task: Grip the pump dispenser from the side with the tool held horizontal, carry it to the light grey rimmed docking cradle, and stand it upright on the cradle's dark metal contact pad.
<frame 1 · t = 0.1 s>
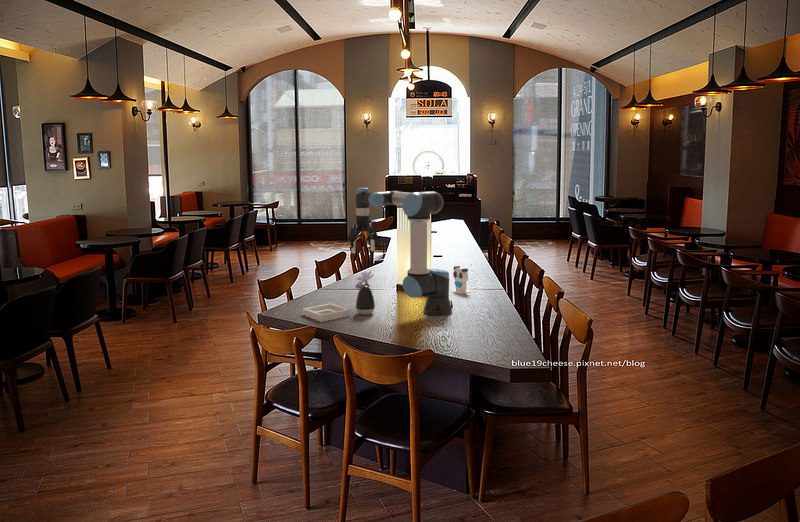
hand: (363, 252, 362), 28 cm above the table, fingers open, 13 cm apart
water lily: (364, 285, 405), on the table
panda figurine: (460, 291, 387), on the table
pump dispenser: (365, 314, 334), on the table
docking cradle: (326, 315, 331), on the table
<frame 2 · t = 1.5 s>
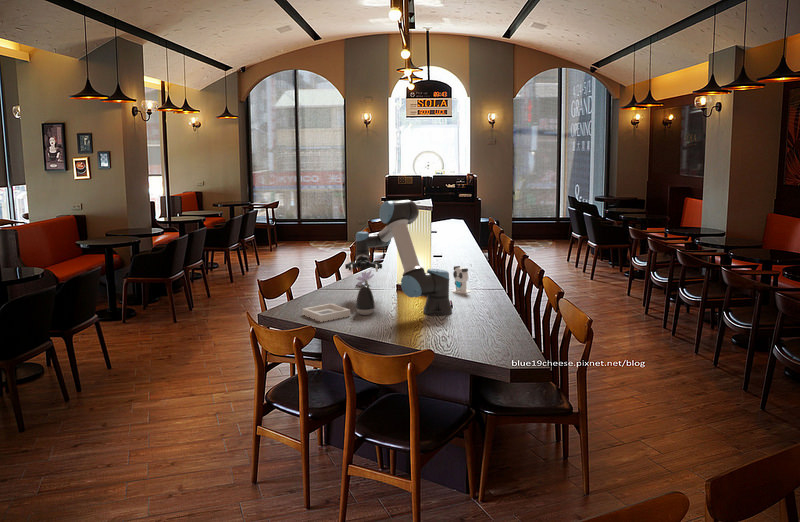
hand: (364, 269, 340), 22 cm above the table, fingers open, 13 cm apart
nothing on the table moved.
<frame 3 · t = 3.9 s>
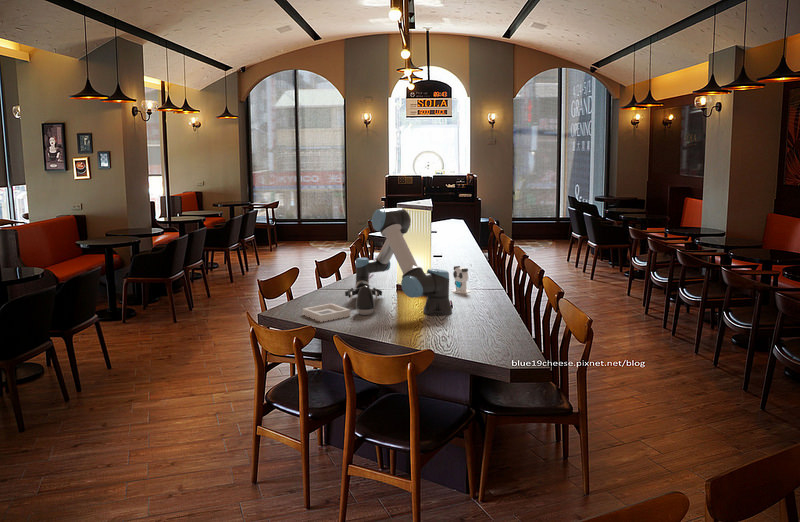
hand: (364, 296, 339), 8 cm above the table, fingers open, 13 cm apart
nothing on the table moved.
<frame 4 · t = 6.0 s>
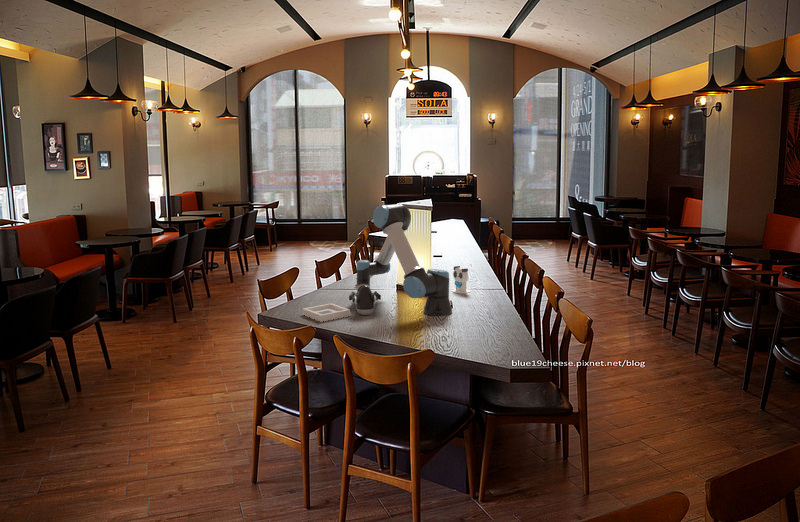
hand: (365, 301, 329), 8 cm above the table, fingers closed on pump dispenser, 10 cm apart
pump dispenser: (365, 314, 334), on the table, touching gripper
everything else where it was.
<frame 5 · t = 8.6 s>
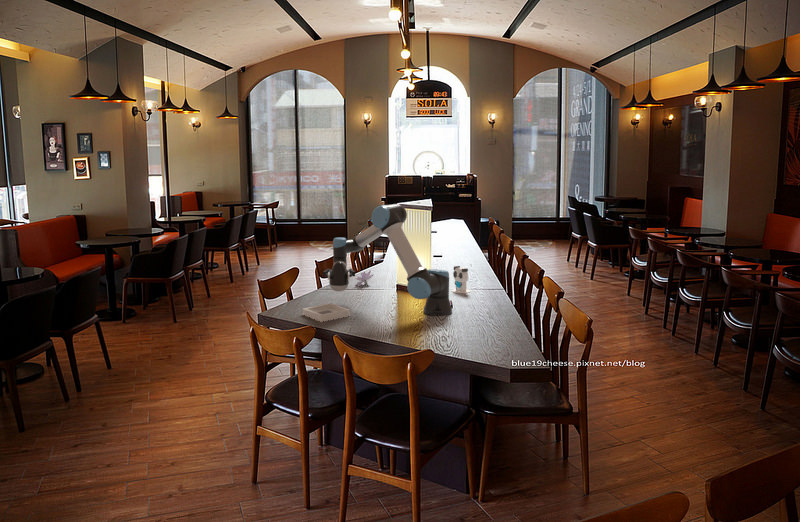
hand: (338, 277, 326), 21 cm above the table, fingers closed on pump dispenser, 10 cm apart
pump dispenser: (339, 290, 332), point 13 cm above the table, touching gripper
everything else where it was.
when the fingers open (10 cm above the table, at t = 11.4 s): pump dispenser stays where it is, resting on docking cradle.
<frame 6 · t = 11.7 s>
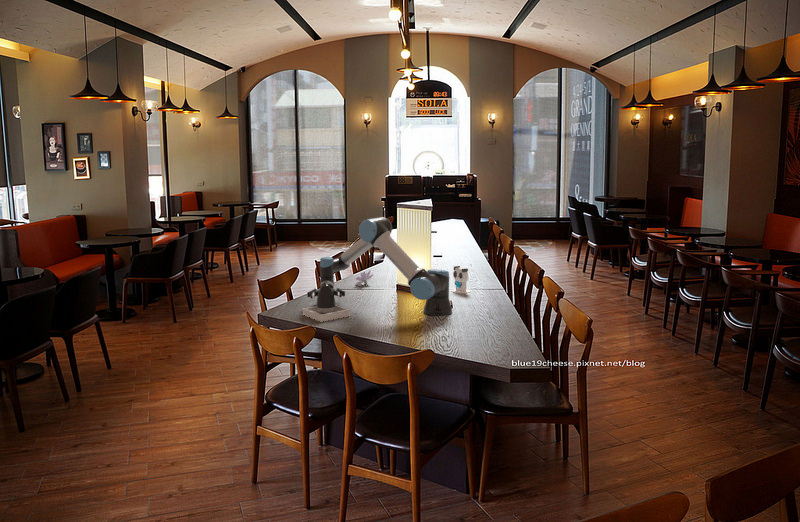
hand: (325, 297, 325), 10 cm above the table, fingers open, 12 cm apart
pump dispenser: (326, 312, 331), point 1 cm above the table, touching docking cradle
everything else where it was.
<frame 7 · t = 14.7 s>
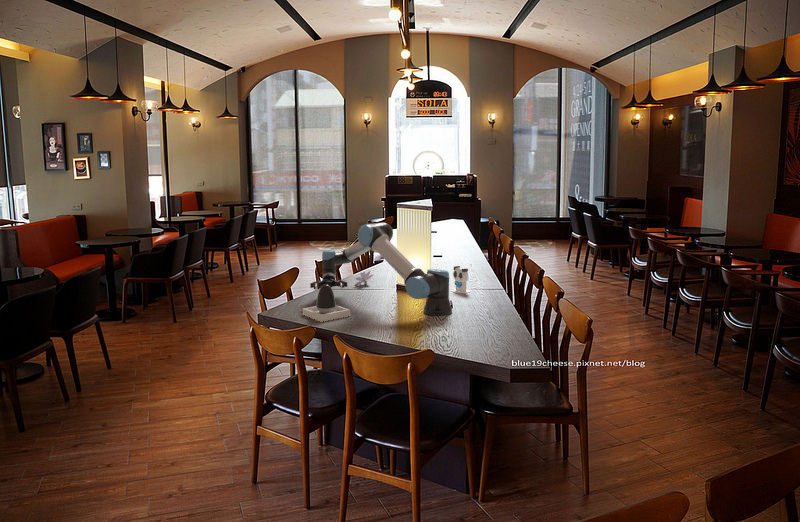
hand: (328, 288, 339), 12 cm above the table, fingers open, 13 cm apart
nothing on the table moved.
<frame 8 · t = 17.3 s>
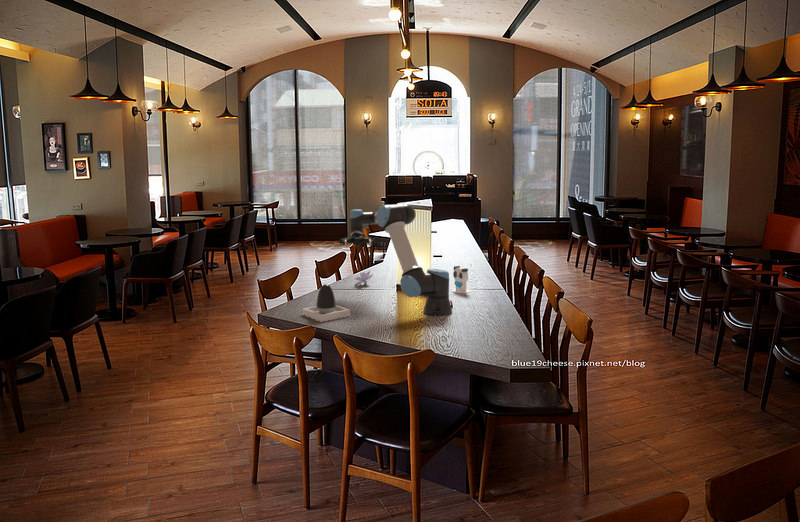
hand: (358, 243, 346), 35 cm above the table, fingers open, 13 cm apart
at the end: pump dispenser inside the target area on the docking cradle (0.1 cm from its centre), point 1.4 cm above the docking cradle's base; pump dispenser tilted 0°; the gripper is holding nothing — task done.
